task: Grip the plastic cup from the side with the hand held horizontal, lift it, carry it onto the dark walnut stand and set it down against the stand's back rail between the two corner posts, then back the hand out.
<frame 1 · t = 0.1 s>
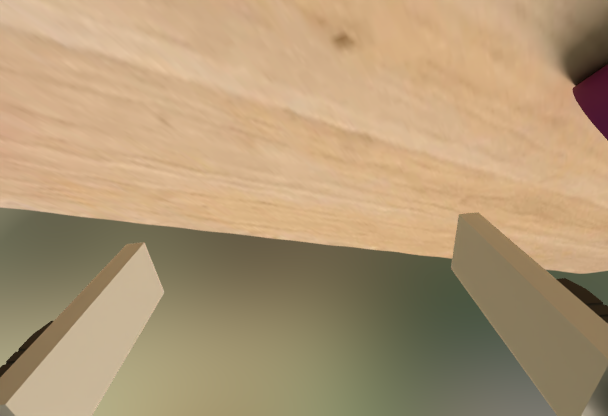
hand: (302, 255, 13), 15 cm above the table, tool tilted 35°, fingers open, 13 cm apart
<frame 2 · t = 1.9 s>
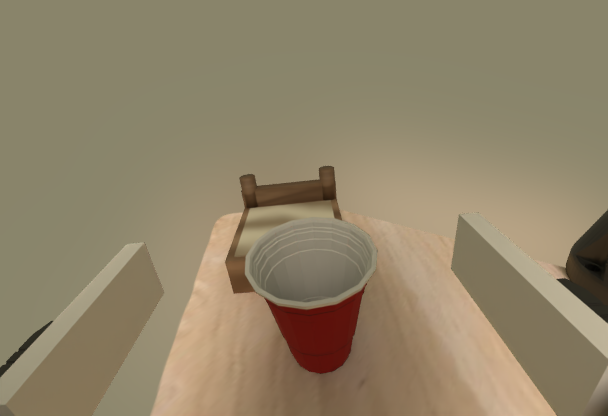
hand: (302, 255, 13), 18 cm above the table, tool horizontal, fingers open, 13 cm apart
plastic cup: (321, 350, 30), on the table
walnut stand: (293, 251, 45), on the table
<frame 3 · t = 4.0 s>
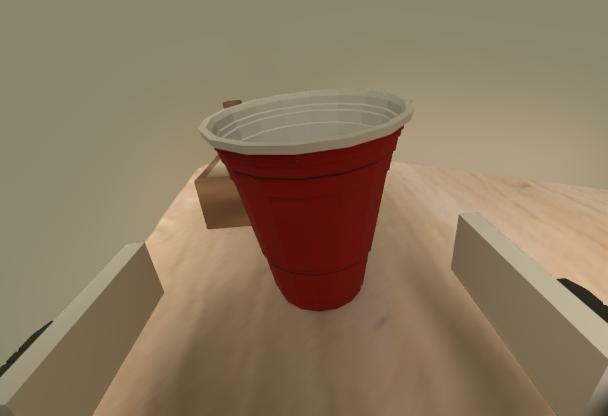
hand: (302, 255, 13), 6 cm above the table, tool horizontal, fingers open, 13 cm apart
plastic cup: (320, 285, 21), on the table
walnut stand: (287, 190, 36), on the table
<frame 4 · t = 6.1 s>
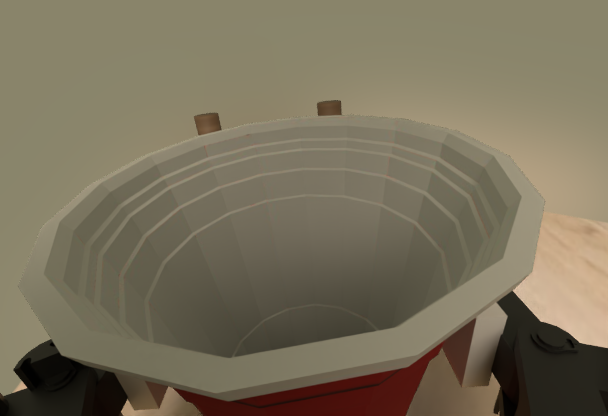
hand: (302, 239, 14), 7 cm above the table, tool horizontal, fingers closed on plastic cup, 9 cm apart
walnut stand: (275, 229, 28), on the table
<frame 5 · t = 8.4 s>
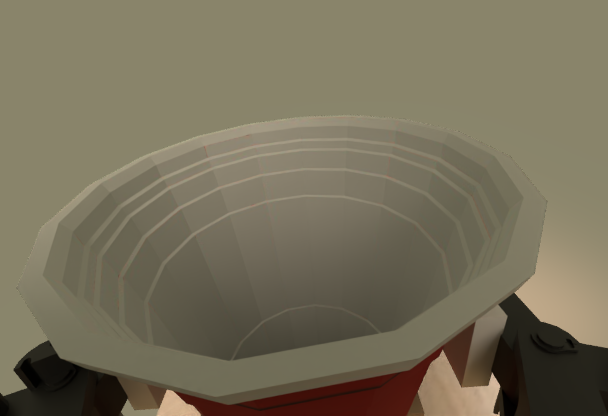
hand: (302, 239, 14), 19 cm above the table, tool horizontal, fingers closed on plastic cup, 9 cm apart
when the fingers open (13 cm above the table, at t = 10.8 s): plastic cup drops 1 cm, resting on walnut stand.
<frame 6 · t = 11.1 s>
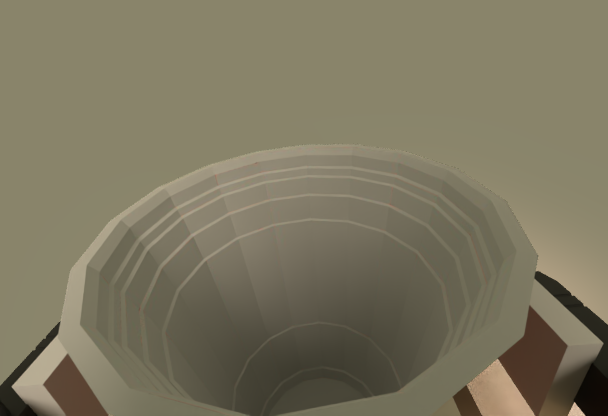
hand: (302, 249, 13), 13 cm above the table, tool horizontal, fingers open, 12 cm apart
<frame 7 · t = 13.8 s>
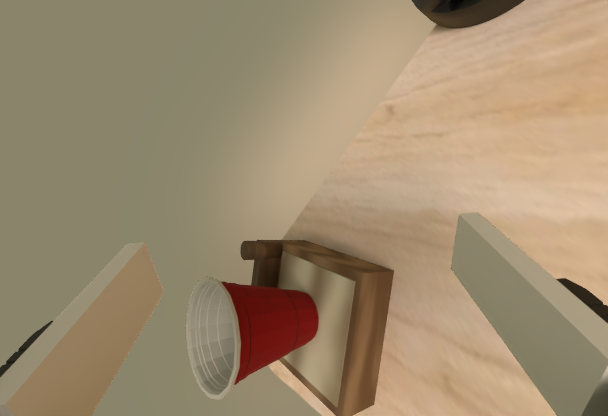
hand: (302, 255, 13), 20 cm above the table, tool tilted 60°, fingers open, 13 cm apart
plastic cup: (306, 316, 35), point 5 cm above the table, touching walnut stand
walnut stand: (333, 309, 39), on the table
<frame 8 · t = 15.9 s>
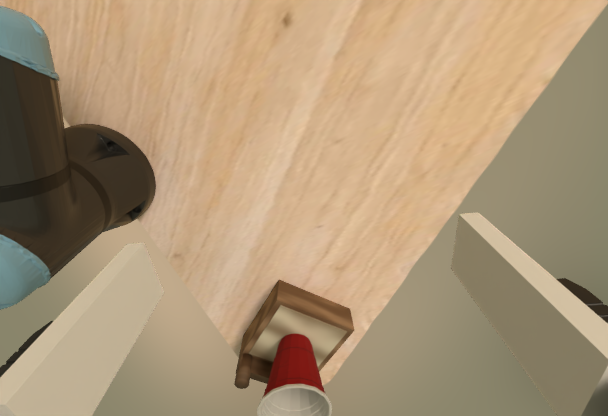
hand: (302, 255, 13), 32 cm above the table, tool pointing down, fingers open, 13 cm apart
plastic cup: (296, 342, 53), point 5 cm above the table, touching walnut stand
walnut stand: (295, 322, 58), on the table
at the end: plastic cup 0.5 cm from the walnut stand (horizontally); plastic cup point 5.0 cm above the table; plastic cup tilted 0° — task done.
